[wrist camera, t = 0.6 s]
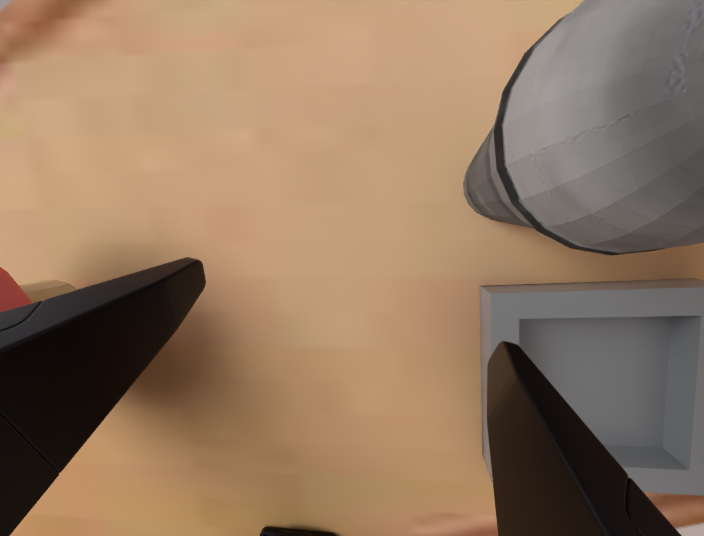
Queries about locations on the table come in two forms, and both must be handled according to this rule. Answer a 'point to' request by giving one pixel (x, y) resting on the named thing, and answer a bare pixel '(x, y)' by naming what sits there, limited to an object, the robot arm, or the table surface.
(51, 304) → the robot arm
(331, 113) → the table surface
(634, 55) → the beverage cup
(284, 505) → the table surface
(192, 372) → the table surface
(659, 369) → the tray
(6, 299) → the decorative mushroom
